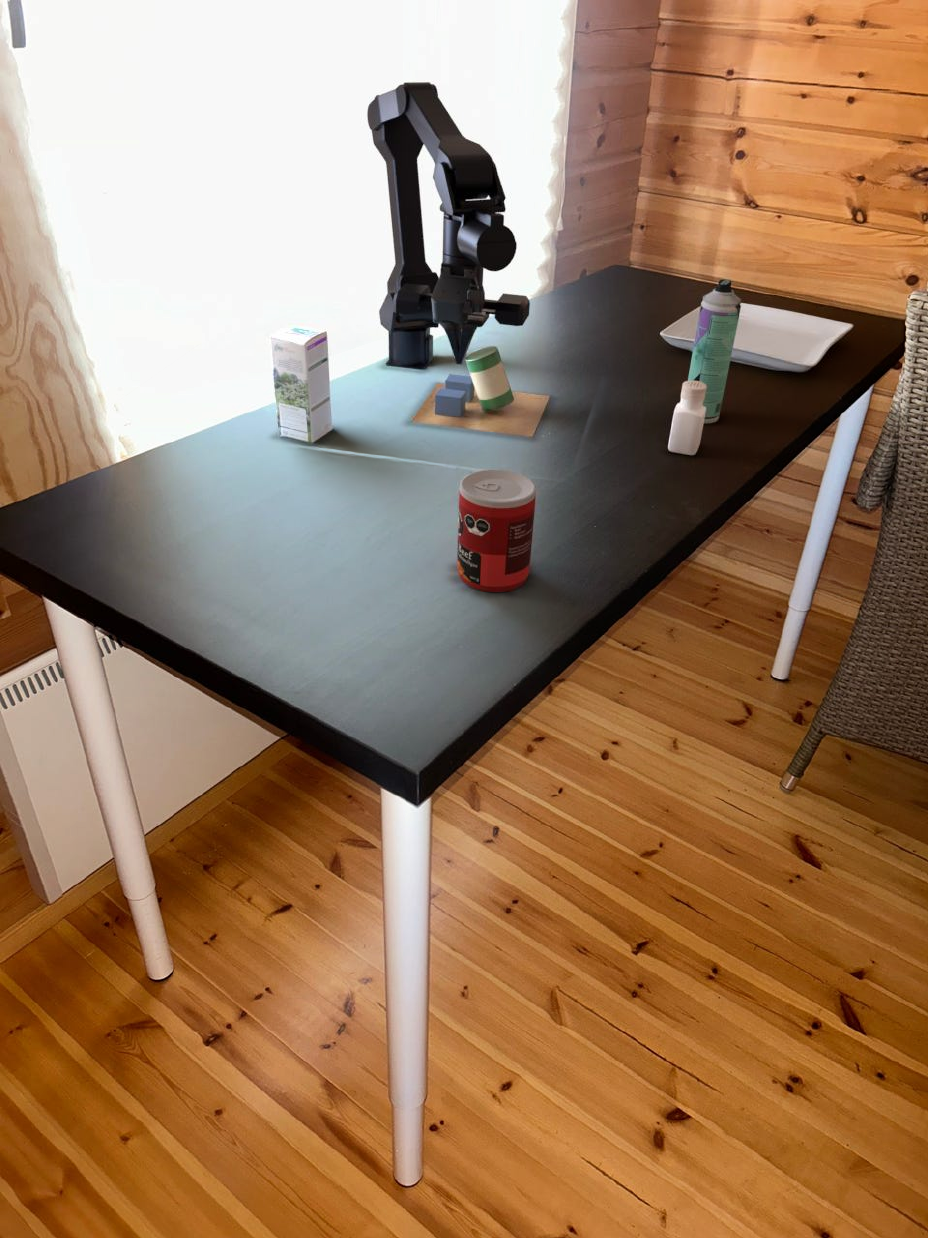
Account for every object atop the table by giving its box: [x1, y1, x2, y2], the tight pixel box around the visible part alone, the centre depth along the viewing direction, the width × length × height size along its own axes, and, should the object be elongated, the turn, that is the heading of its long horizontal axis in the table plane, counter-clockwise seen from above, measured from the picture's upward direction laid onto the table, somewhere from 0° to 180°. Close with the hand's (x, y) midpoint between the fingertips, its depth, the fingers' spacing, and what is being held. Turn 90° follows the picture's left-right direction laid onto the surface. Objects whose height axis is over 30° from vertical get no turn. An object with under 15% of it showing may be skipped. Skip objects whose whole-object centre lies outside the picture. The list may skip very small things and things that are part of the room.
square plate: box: [659, 302, 854, 373], centre depth 170 cm, size 27×27×4 cm
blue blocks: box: [435, 373, 475, 417], centre depth 142 cm, size 4×9×3 cm, turn 167°
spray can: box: [687, 278, 742, 424], centre depth 138 cm, size 6×6×20 cm
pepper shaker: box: [667, 380, 707, 456], centre depth 131 cm, size 4×4×10 cm
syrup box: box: [269, 324, 333, 444], centre depth 129 cm, size 6×6×14 cm
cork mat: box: [410, 382, 551, 438], centre depth 143 cm, size 18×16×1 cm
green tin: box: [464, 345, 514, 412], centre depth 140 cm, size 9×5×9 cm, turn 76°
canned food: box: [456, 469, 537, 593], centre depth 102 cm, size 8×8×11 cm
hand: (459, 363), depth 139 cm, fingers closed
